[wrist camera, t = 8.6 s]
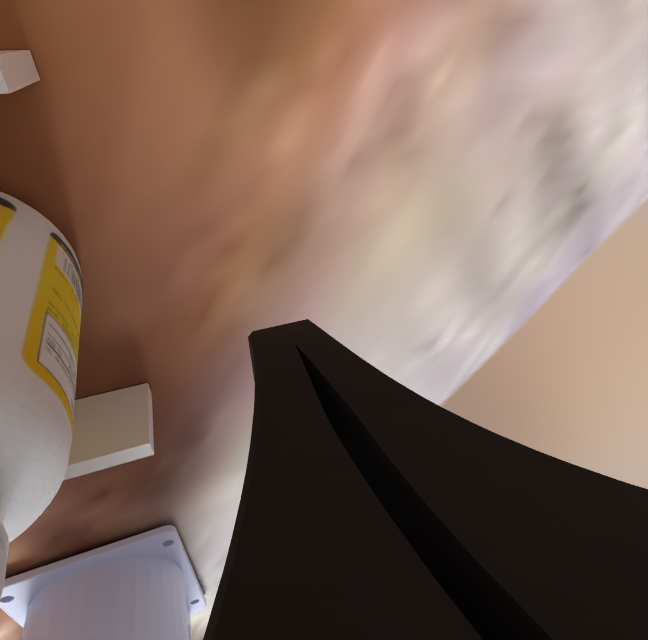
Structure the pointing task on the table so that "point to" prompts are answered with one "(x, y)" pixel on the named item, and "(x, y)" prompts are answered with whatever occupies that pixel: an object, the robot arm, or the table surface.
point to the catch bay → (104, 409)
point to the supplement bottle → (34, 364)
